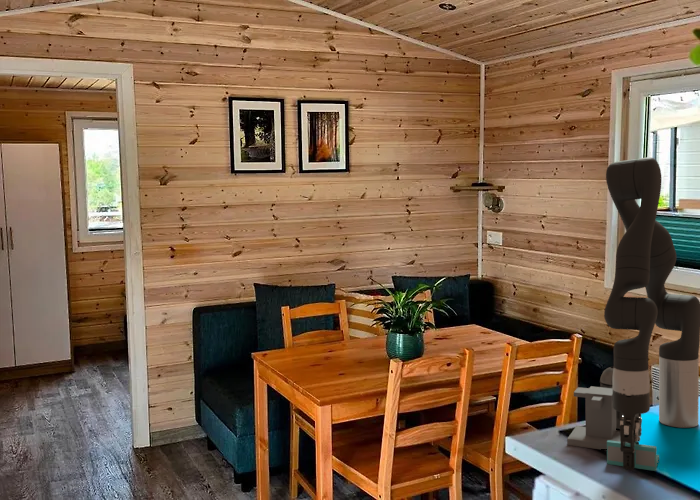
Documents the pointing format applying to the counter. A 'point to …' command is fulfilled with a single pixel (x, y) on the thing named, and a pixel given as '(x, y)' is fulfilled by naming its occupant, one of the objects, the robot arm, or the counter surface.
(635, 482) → the counter surface
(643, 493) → the counter surface
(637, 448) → the teal c-shaped bracket
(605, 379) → the beverage cup
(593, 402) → the stand
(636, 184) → the robot arm
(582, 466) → the counter surface
